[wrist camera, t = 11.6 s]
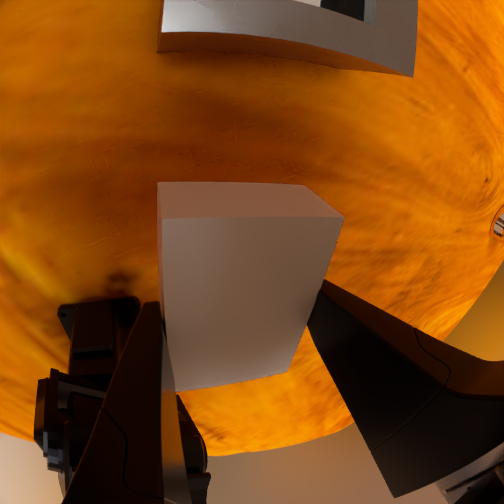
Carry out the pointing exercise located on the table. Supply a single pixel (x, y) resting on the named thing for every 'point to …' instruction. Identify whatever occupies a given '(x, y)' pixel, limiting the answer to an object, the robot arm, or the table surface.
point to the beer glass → (498, 226)
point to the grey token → (239, 275)
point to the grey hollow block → (298, 31)
